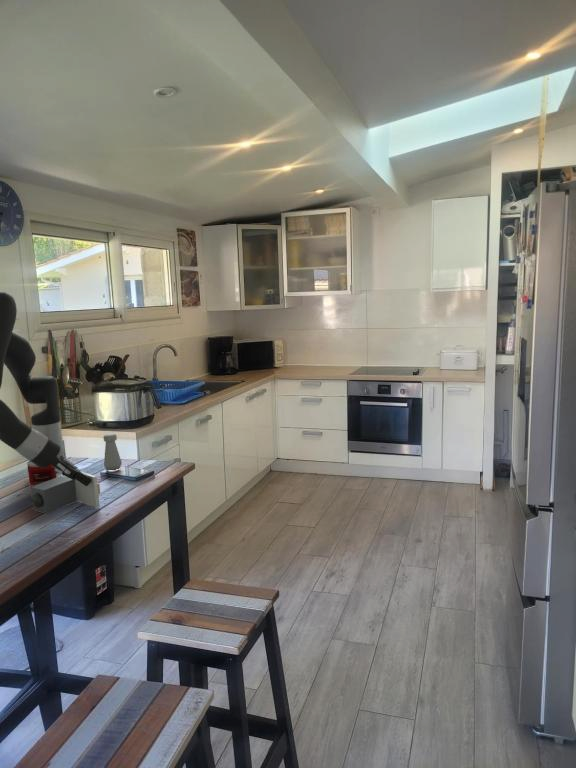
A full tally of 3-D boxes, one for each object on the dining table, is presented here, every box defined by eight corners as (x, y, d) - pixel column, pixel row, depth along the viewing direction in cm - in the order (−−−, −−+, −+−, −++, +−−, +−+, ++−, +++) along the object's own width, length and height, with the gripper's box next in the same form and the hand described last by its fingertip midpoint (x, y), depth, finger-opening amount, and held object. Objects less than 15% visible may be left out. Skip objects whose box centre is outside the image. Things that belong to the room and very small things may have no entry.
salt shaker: (125, 469, 194) (122, 432, 192) (112, 474, 189) (108, 437, 187) (114, 466, 197) (110, 431, 195) (101, 471, 192) (97, 435, 190)
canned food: (47, 488, 177) (43, 455, 176) (64, 492, 173) (60, 458, 171) (25, 497, 171) (21, 462, 169) (42, 501, 167) (37, 466, 165)
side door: (77, 500, 165) (73, 471, 164) (82, 498, 167) (79, 469, 165) (96, 508, 159) (93, 477, 158) (102, 505, 160) (99, 475, 159)
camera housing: (66, 496, 170) (63, 467, 168) (80, 499, 167) (76, 470, 165) (31, 511, 160) (27, 480, 158) (44, 514, 157) (40, 483, 155)
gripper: (50, 442, 145) (102, 478, 153) (44, 432, 157) (93, 466, 165) (30, 465, 144) (84, 500, 152) (25, 453, 155) (76, 486, 163)
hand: (88, 482), depth 158 cm, fingers closed
